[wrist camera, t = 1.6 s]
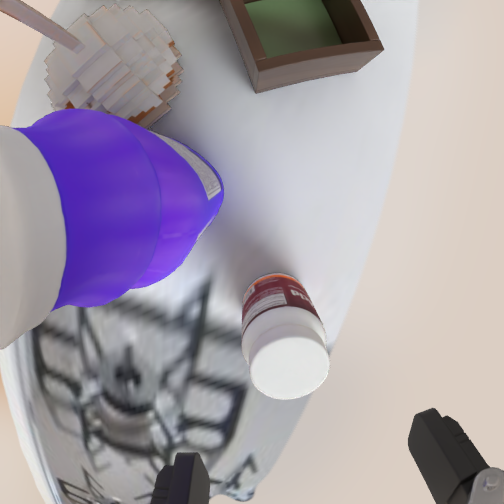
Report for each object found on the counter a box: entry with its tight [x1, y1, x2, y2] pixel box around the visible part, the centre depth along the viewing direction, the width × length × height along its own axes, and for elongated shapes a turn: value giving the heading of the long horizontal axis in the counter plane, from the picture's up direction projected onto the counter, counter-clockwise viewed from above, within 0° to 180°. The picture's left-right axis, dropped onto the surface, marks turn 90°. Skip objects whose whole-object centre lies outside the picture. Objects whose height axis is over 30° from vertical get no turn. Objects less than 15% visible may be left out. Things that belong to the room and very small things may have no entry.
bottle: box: [0, 109, 224, 350], centre depth 12 cm, size 7×6×17 cm
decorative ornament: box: [0, 0, 184, 129], centre depth 11 cm, size 8×8×15 cm
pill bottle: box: [241, 273, 330, 399], centre depth 18 cm, size 5×5×8 cm
